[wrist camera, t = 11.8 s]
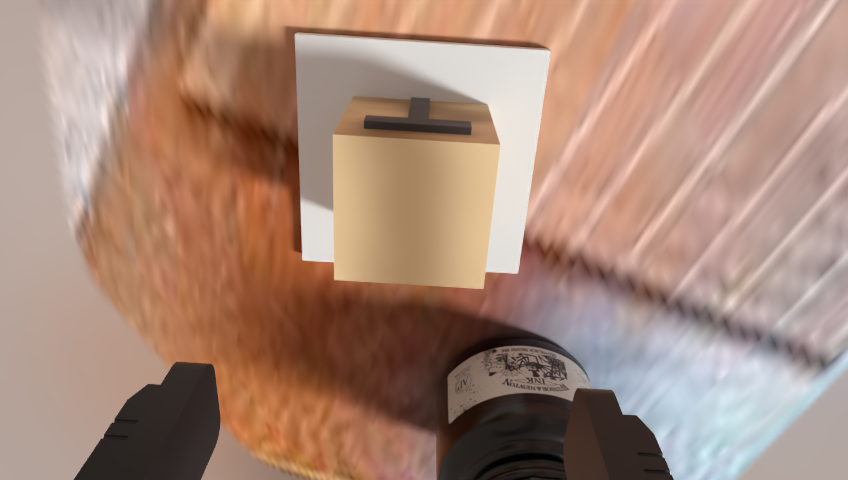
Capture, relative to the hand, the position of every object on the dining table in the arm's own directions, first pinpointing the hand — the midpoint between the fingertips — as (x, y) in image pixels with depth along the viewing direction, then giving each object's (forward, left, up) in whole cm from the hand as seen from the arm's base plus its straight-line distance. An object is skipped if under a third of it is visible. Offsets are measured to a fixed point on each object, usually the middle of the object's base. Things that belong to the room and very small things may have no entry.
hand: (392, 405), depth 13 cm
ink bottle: (+14, +6, -17) cm, 23 cm away
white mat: (0, 0, -17) cm, 17 cm away
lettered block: (0, 0, -17) cm, 17 cm away
